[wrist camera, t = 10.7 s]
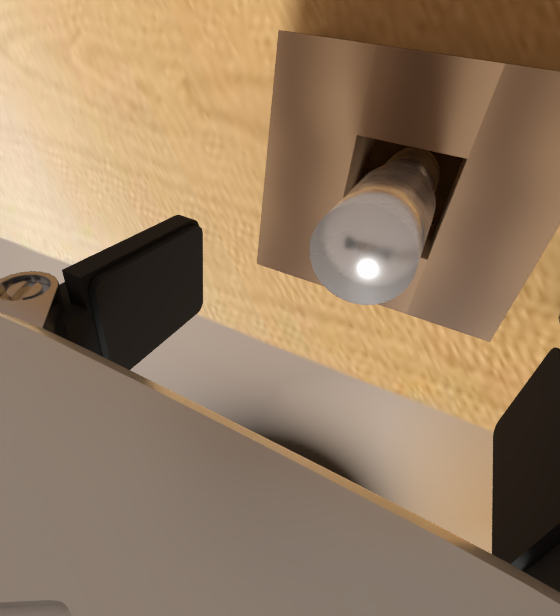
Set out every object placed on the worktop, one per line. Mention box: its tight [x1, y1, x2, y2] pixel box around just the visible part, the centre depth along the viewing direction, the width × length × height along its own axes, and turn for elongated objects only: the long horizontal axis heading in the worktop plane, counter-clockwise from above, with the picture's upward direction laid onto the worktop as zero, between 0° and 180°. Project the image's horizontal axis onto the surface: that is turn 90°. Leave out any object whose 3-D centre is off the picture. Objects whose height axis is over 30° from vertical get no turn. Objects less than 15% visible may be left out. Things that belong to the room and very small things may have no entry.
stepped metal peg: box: [309, 147, 440, 305], centre depth 18 cm, size 4×4×12 cm
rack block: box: [257, 30, 560, 342], centre depth 20 cm, size 14×12×5 cm
